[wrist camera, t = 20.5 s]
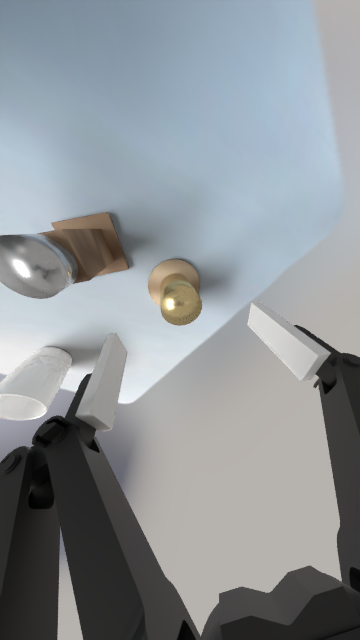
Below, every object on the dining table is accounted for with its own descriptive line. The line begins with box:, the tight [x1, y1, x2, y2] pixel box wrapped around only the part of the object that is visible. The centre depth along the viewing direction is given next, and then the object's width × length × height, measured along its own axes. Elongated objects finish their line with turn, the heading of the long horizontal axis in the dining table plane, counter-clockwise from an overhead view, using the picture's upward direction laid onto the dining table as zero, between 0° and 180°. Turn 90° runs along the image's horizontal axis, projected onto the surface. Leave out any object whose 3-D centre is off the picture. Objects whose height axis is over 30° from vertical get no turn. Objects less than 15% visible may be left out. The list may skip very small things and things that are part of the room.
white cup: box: [0, 347, 72, 420], centre depth 25 cm, size 8×8×10 cm
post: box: [38, 212, 129, 284], centre depth 16 cm, size 7×7×10 cm
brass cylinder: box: [159, 273, 202, 325], centre depth 21 cm, size 6×6×7 cm
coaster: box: [148, 259, 200, 307], centre depth 24 cm, size 9×9×1 cm
